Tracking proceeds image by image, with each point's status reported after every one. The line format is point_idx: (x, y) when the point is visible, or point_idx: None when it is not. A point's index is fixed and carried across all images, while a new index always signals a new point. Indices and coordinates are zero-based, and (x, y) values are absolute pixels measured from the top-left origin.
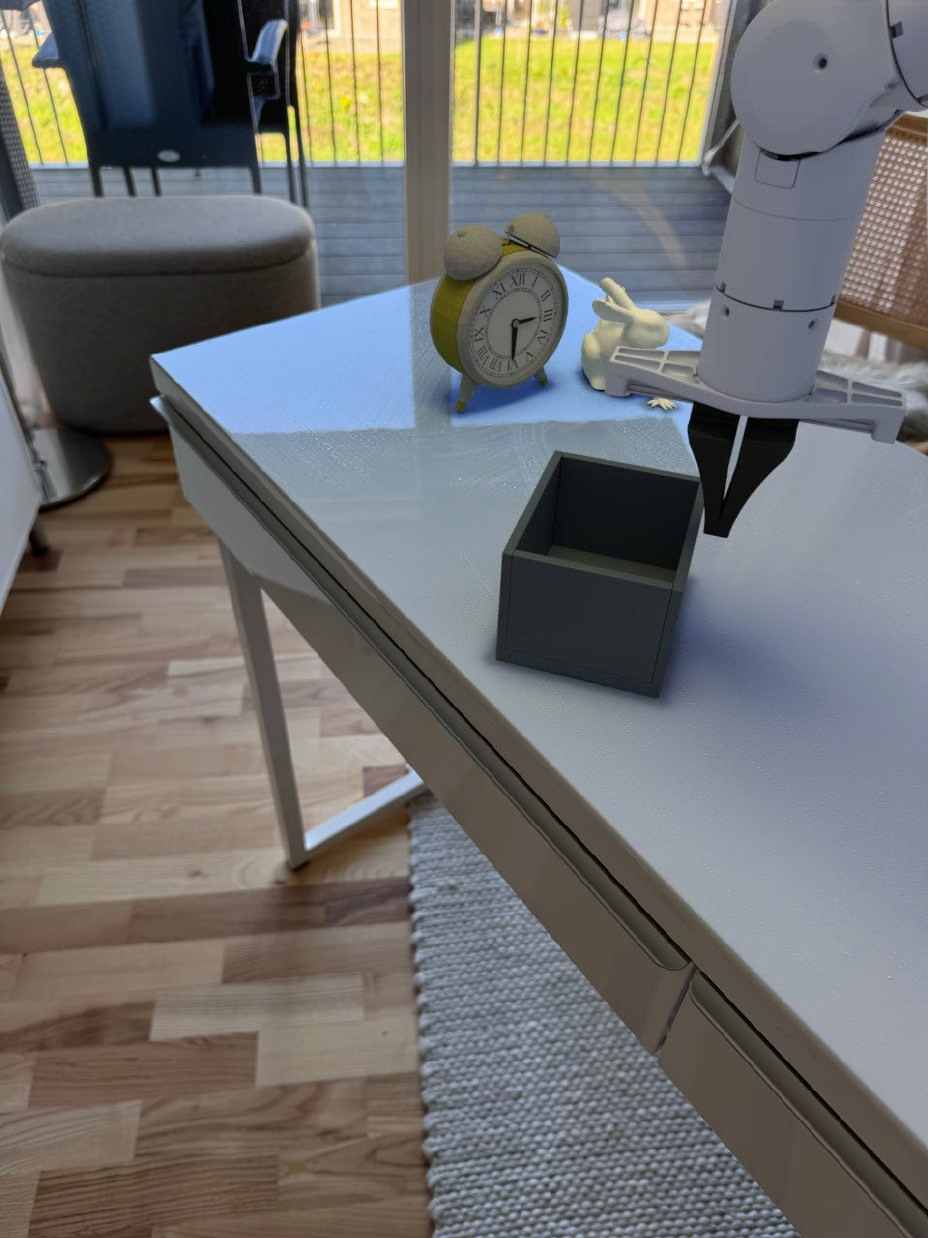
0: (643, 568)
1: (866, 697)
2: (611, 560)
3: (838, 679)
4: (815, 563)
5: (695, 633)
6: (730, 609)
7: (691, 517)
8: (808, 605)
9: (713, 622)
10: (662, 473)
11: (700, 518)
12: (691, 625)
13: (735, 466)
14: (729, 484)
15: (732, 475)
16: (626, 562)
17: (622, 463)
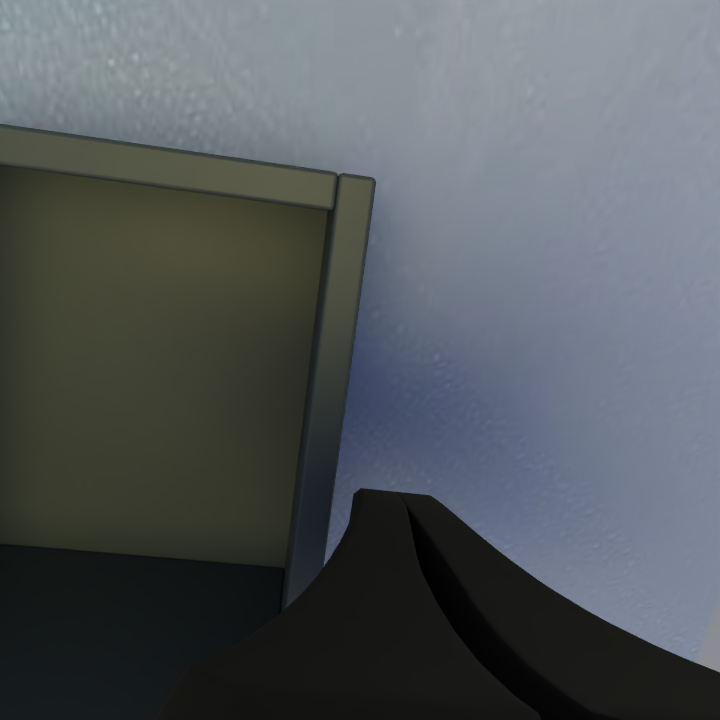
0: (237, 214)
1: (674, 479)
2: (152, 197)
3: (635, 444)
4: (676, 36)
5: (370, 374)
6: (448, 276)
7: (307, 456)
8: (624, 222)
9: (408, 330)
10: (185, 180)
11: (336, 457)
12: (361, 351)
13: (446, 592)
14: (422, 562)
15: (434, 572)
16: (191, 197)
17: (10, 134)
